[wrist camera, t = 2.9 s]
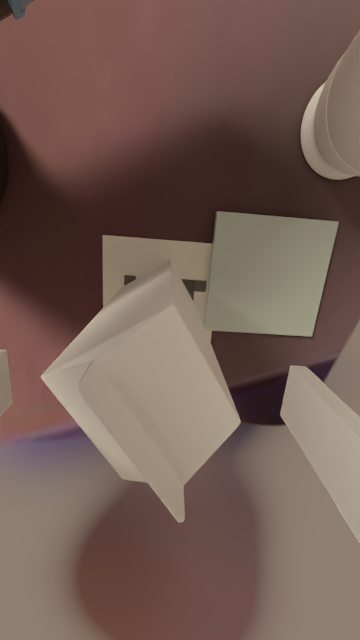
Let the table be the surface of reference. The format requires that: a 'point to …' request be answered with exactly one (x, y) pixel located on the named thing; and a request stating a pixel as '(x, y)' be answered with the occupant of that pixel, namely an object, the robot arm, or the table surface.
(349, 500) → the robot arm
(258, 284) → the coaster
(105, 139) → the table surface
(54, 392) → the milk
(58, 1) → the table surface
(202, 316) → the tile
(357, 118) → the jar
